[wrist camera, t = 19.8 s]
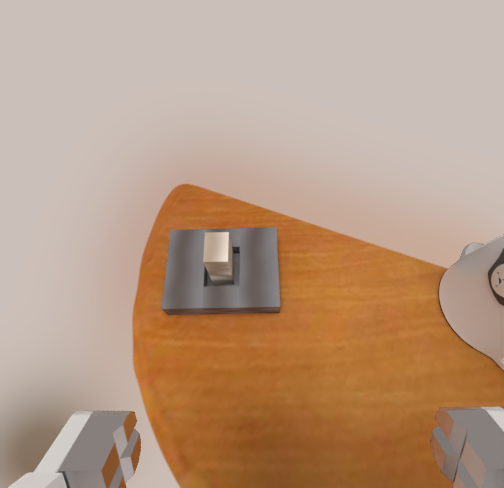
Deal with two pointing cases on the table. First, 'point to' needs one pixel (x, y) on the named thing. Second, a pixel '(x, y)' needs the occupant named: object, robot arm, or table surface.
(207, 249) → the peg
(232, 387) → the table surface
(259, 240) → the slot holder
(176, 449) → the table surface
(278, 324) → the table surface
